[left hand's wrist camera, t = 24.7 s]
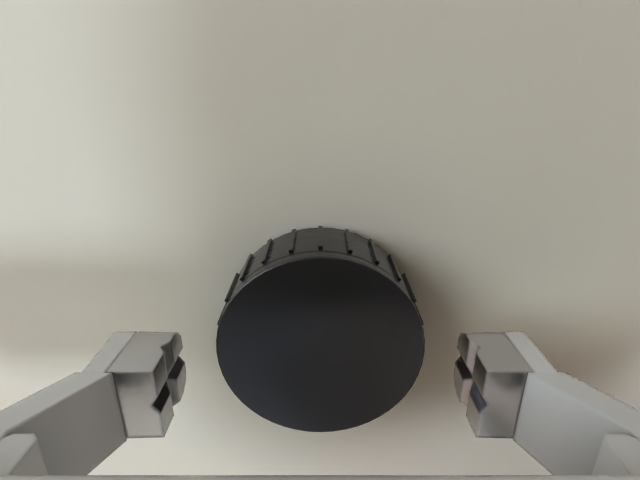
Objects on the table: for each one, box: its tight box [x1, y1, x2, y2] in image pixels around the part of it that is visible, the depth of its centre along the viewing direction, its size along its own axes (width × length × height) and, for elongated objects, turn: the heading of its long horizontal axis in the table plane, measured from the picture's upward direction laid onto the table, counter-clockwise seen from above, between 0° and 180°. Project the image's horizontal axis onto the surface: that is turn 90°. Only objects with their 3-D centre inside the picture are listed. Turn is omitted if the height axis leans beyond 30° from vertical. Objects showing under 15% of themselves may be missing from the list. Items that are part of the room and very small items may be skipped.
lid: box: [216, 226, 425, 432], centre depth 12 cm, size 5×5×2 cm
